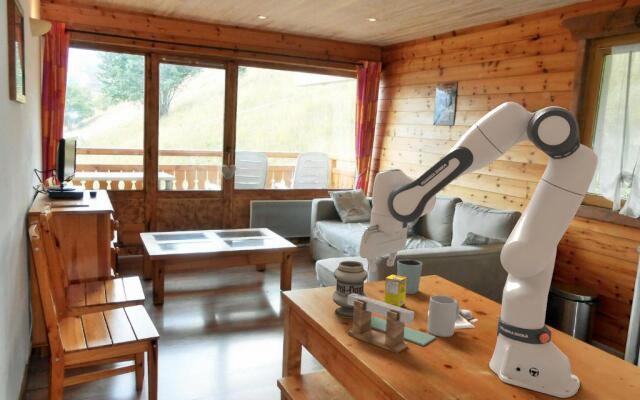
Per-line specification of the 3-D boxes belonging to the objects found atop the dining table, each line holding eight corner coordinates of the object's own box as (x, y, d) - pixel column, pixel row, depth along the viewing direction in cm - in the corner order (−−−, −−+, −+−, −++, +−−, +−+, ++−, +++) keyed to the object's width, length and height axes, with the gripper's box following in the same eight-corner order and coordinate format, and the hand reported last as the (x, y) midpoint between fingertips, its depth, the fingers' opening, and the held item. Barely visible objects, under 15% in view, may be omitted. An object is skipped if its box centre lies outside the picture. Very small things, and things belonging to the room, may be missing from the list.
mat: (435, 338, 154) (435, 336, 154) (423, 346, 148) (423, 344, 147) (372, 317, 169) (372, 315, 169) (358, 323, 163) (358, 321, 163)
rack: (407, 347, 146) (410, 310, 145) (397, 353, 142) (400, 315, 140) (359, 329, 158) (361, 295, 156) (347, 334, 153) (349, 299, 152)
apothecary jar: (325, 309, 174) (327, 260, 171) (353, 305, 180) (355, 257, 177) (343, 321, 163) (346, 269, 161) (372, 316, 170) (376, 266, 167)
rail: (413, 321, 143) (414, 311, 142) (408, 324, 140) (409, 314, 140) (352, 302, 157) (353, 293, 156) (347, 304, 154) (347, 295, 154)
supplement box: (405, 305, 183) (407, 277, 181) (398, 309, 178) (400, 280, 176) (390, 301, 186) (392, 273, 184) (383, 306, 181) (385, 277, 179)
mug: (441, 339, 154) (444, 305, 152) (421, 329, 161) (424, 297, 159) (466, 332, 160) (469, 299, 159) (447, 323, 167) (449, 292, 166)
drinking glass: (395, 292, 197) (397, 263, 195) (395, 285, 206) (397, 257, 205) (420, 295, 195) (423, 266, 193) (419, 287, 205) (422, 259, 203)
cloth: (466, 334, 159) (468, 316, 158) (416, 318, 171) (418, 301, 170) (493, 317, 176) (494, 301, 175) (445, 303, 188) (447, 288, 187)
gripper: (374, 229, 135) (370, 277, 137) (411, 221, 150) (407, 265, 152) (356, 225, 139) (352, 272, 141) (394, 218, 154) (390, 260, 156)
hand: (381, 268), depth 147 cm, fingers open, 8 cm apart
